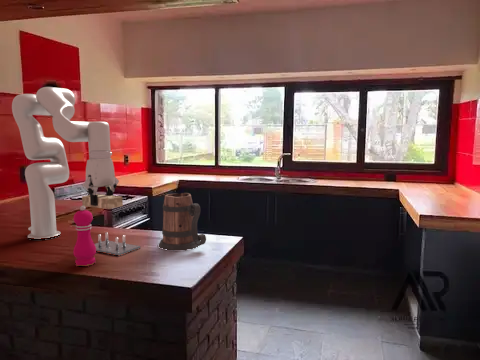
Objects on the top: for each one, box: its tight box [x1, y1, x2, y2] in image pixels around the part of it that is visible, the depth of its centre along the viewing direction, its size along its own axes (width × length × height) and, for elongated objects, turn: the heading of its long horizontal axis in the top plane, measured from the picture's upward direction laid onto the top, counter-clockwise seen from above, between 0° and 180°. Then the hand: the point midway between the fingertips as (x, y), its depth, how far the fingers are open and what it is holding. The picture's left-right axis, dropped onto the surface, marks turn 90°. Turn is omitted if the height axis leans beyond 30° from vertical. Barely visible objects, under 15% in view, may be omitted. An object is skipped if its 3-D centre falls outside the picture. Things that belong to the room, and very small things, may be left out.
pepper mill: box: [72, 205, 97, 265], centre depth 133 cm, size 7×7×20 cm
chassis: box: [94, 232, 141, 256], centre depth 151 cm, size 18×11×6 cm, turn 61°
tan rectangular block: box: [81, 193, 124, 210], centre depth 148 cm, size 14×7×4 cm, turn 60°
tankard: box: [158, 192, 207, 251], centre depth 154 cm, size 24×17×20 cm
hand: (102, 203), depth 148 cm, fingers closed on tan rectangular block, 6 cm apart
